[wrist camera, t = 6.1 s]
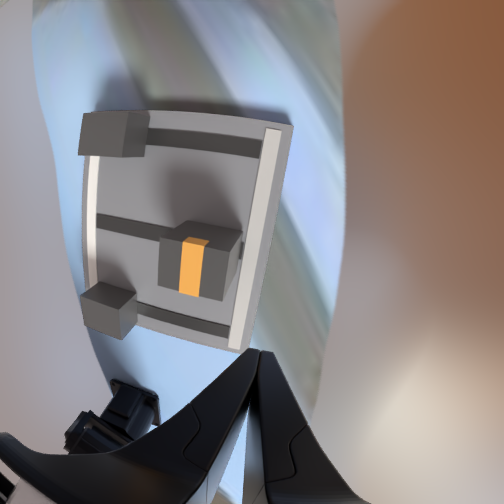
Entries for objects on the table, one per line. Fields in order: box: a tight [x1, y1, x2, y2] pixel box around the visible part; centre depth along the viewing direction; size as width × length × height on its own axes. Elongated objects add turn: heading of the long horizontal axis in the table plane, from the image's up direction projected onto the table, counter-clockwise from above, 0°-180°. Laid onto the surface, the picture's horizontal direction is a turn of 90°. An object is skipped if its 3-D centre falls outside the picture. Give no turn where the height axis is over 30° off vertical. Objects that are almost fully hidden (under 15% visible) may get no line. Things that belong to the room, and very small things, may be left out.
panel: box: [78, 110, 294, 354], centre depth 19 cm, size 18×16×4 cm
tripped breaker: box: [158, 220, 243, 302], centre depth 17 cm, size 3×4×4 cm
